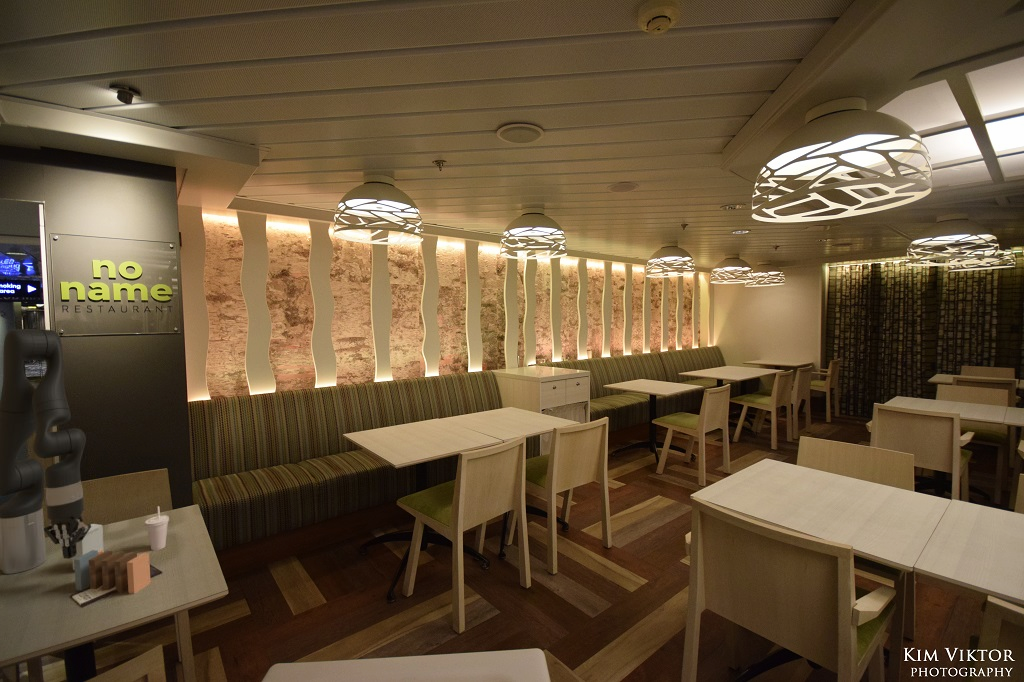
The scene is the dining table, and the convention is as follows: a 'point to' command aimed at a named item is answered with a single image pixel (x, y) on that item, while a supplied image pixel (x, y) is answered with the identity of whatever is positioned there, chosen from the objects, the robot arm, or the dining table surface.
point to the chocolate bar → (102, 591)
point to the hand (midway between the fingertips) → (69, 557)
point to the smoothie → (157, 530)
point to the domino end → (138, 573)
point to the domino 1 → (83, 570)
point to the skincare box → (90, 542)
